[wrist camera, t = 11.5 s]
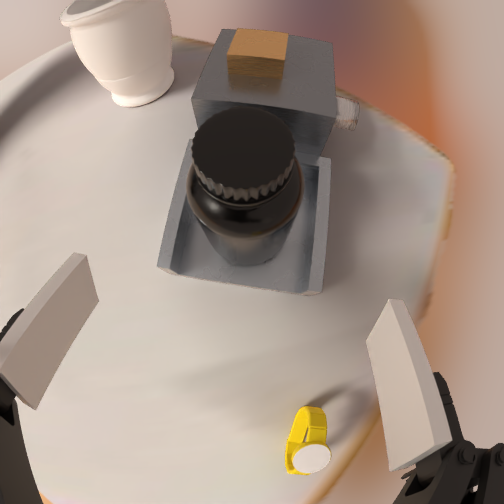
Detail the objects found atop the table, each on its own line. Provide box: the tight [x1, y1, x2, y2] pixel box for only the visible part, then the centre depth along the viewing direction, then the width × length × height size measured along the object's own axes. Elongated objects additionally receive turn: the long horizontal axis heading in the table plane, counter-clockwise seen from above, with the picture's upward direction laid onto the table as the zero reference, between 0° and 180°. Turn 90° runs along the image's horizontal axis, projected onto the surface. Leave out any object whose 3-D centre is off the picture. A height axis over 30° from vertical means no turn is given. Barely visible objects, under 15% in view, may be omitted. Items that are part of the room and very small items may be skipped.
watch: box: [285, 406, 331, 475], centre depth 18 cm, size 6×3×6 cm, turn 166°
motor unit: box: [157, 28, 359, 296], centre depth 20 cm, size 14×21×11 cm, turn 171°
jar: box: [60, 0, 174, 107], centre depth 21 cm, size 11×10×15 cm
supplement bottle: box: [186, 106, 305, 265], centre depth 18 cm, size 7×7×12 cm
